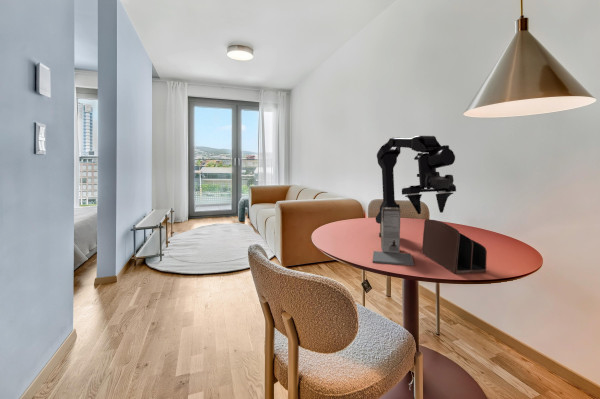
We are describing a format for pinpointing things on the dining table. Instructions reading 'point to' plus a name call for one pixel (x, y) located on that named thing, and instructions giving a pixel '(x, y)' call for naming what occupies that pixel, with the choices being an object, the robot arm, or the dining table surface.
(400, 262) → the mat
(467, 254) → the letter holder
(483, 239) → the dining table surface
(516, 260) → the dining table surface
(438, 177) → the robot arm
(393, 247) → the coffee box
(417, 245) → the dining table surface
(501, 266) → the dining table surface
